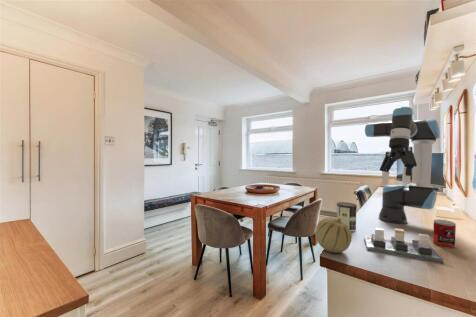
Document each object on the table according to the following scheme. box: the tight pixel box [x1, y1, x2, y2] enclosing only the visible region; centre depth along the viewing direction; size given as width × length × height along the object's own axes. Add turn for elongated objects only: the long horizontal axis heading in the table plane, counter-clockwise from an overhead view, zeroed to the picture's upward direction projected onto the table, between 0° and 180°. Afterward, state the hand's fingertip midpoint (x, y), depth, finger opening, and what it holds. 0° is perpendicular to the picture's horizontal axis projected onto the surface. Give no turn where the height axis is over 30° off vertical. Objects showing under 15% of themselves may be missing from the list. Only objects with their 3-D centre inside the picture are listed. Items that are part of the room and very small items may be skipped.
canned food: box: [432, 219, 457, 249], centre depth 104 cm, size 8×8×11 cm
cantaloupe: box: [314, 216, 353, 254], centre depth 96 cm, size 15×15×15 cm
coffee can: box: [336, 201, 358, 232], centre depth 126 cm, size 10×10×14 cm
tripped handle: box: [394, 228, 405, 242], centre depth 98 cm, size 2×3×5 cm
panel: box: [363, 227, 444, 264], centre depth 98 cm, size 14×26×9 cm, turn 65°
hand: (394, 184), depth 98 cm, fingers open, 13 cm apart
